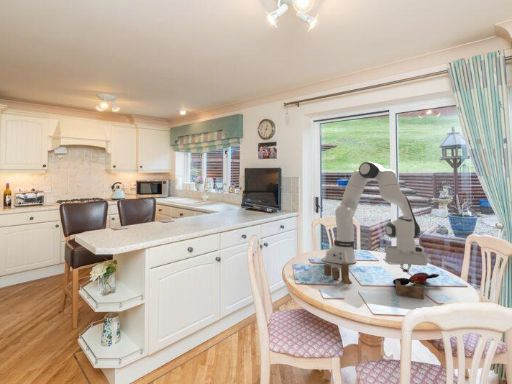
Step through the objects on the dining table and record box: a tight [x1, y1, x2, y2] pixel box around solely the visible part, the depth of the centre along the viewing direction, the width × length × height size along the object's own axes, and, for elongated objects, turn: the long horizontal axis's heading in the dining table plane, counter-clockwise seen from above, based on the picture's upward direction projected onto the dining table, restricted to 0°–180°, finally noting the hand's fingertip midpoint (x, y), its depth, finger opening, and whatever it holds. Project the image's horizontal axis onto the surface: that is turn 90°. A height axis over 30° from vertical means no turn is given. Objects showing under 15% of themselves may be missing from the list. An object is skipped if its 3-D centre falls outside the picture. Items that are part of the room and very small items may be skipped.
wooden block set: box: [323, 262, 353, 285], centre depth 153 cm, size 18×9×10 cm, turn 36°
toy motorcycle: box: [392, 272, 440, 286], centre depth 145 cm, size 25×5×16 cm
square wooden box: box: [395, 281, 424, 300], centre depth 135 cm, size 11×11×5 cm
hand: (405, 271), depth 150 cm, fingers closed
